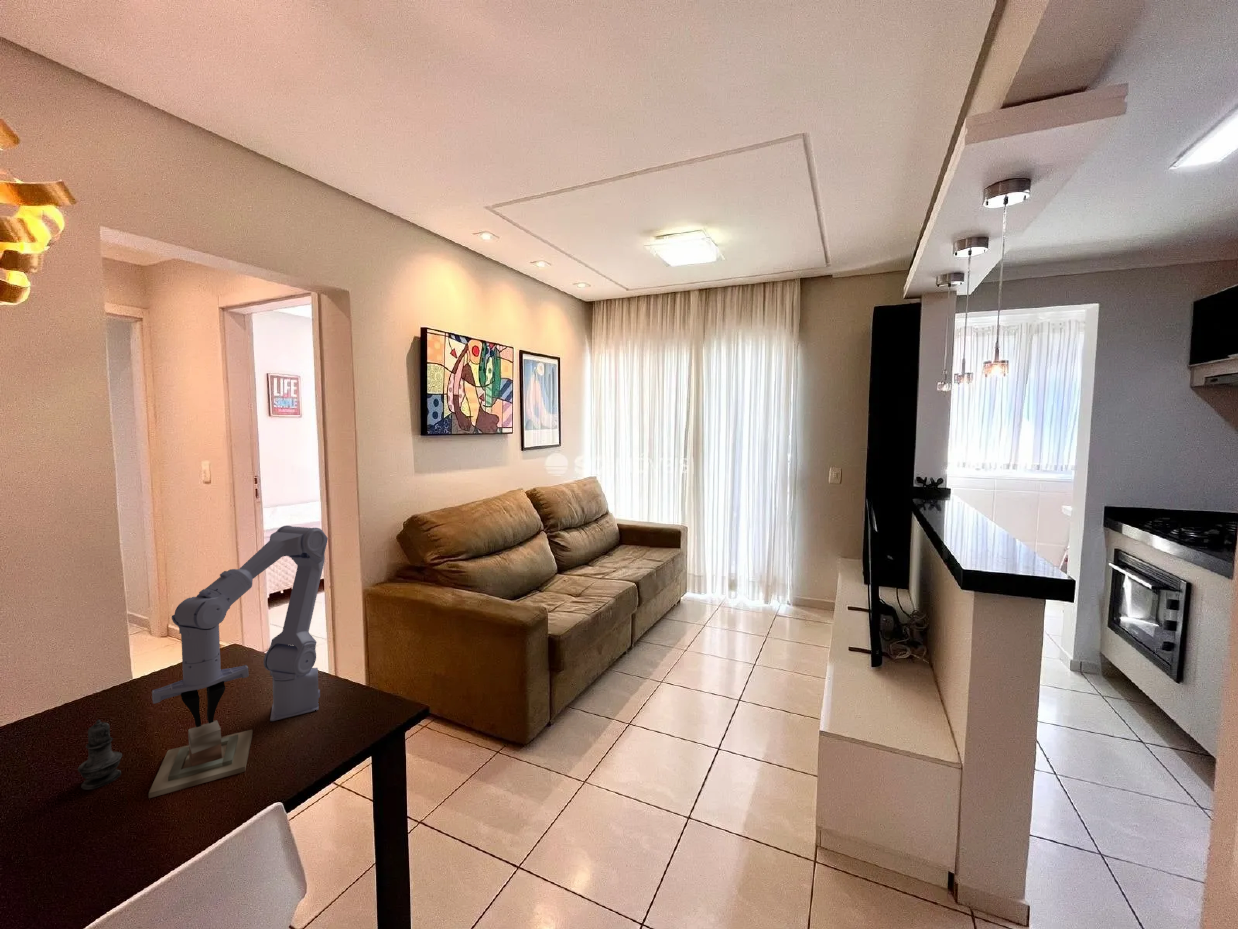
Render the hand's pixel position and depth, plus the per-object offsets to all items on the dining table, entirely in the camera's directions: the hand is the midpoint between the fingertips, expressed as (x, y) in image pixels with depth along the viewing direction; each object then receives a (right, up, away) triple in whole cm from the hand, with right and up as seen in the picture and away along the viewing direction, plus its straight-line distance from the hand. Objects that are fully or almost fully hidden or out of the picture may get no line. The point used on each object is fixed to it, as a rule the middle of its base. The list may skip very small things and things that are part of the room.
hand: (204, 723), depth 98 cm
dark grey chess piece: (-16, -9, -5) cm, 19 cm away
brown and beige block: (0, -7, 0) cm, 7 cm away
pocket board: (0, -8, +1) cm, 8 cm away
